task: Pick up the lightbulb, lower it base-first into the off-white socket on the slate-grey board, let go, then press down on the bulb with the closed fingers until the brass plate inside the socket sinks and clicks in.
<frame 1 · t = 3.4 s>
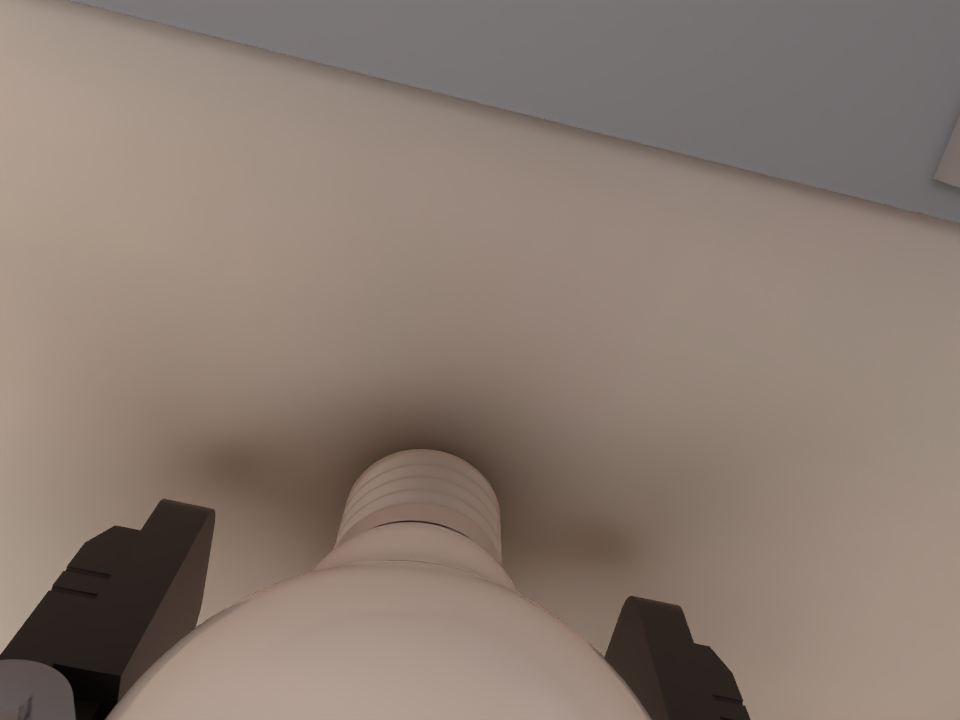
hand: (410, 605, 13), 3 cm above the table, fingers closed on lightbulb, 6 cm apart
lightbulb: (425, 494, 16), on the table, touching gripper
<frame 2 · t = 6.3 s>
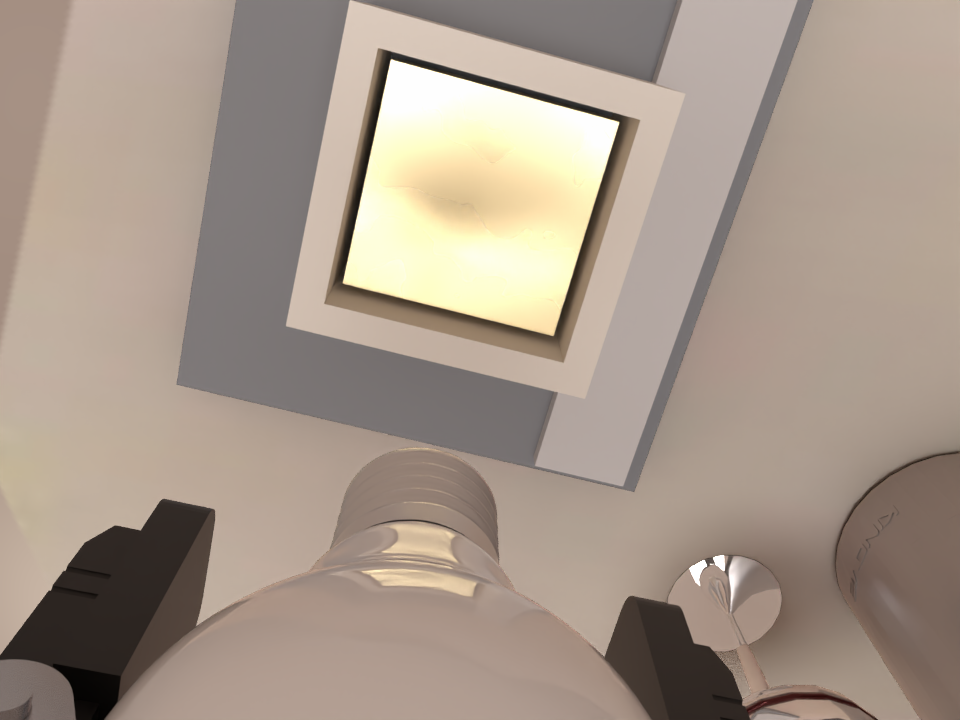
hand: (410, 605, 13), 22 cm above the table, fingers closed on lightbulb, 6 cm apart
socket plunger: (476, 200, 28), point 4 cm above the table, slide at 0.0 cm
wineglass: (723, 601, 39), on the table
socket board: (476, 179, 32), on the table
lightbulb: (422, 492, 16), point 18 cm above the table, touching gripper
when the fingers open (9 cm above the table, at t = 9.6 s): lightbulb drops 3 cm, resting on socket plunger.
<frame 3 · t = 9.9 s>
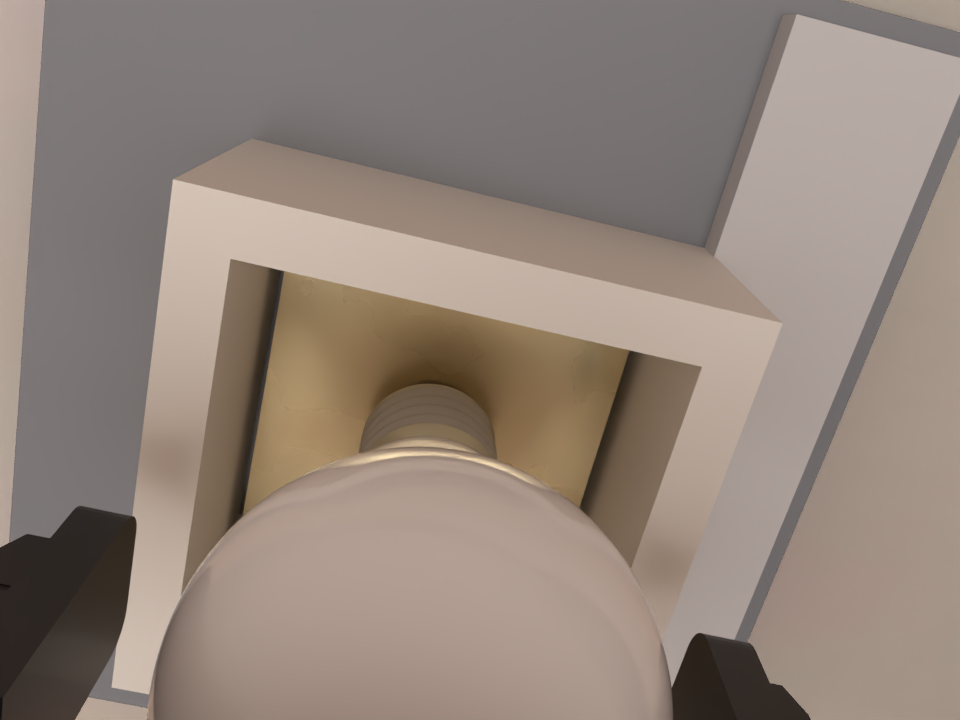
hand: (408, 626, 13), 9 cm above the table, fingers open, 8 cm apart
socket plunger: (431, 417, 19), point 2 cm above the table, slide at 2.0 cm, touching lightbulb
socket board: (436, 378, 21), on the table
lightbulb: (429, 426, 19), point 3 cm above the table, touching socket plunger
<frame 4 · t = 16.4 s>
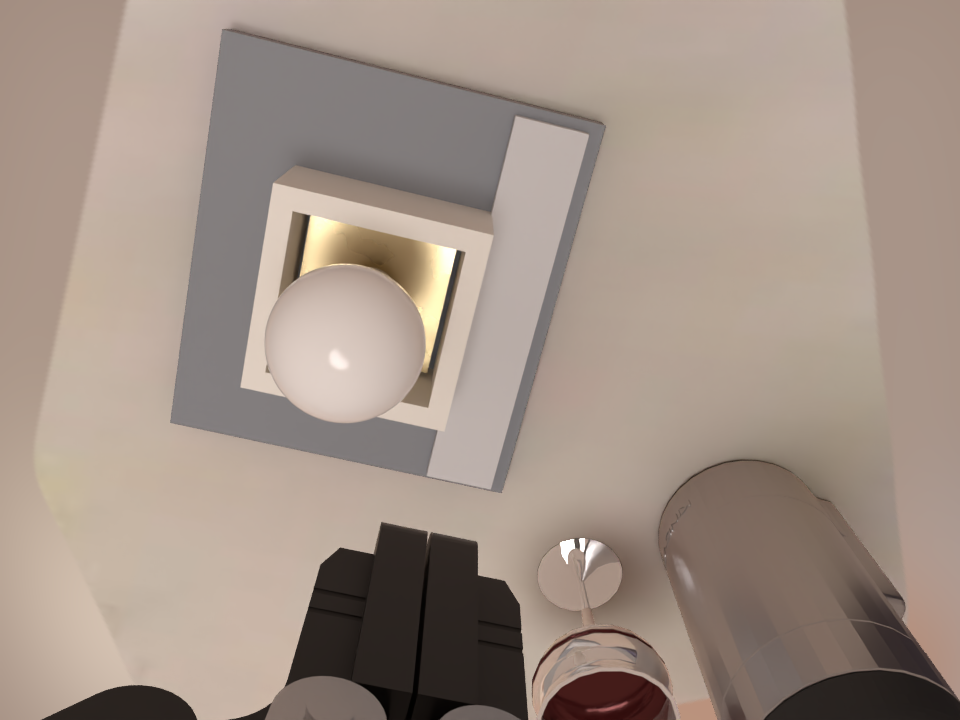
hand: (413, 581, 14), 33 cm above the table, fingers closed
socket plunger: (373, 287, 44), point 2 cm above the table, slide at 2.0 cm, touching lightbulb
wineglass: (579, 573, 53), on the table
socket board: (378, 275, 46), on the table
lightbulb: (371, 289, 43), point 3 cm above the table, touching socket plunger
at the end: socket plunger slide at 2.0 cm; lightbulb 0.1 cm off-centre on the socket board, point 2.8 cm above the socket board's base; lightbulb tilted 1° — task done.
